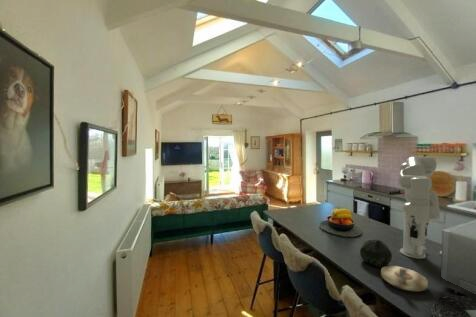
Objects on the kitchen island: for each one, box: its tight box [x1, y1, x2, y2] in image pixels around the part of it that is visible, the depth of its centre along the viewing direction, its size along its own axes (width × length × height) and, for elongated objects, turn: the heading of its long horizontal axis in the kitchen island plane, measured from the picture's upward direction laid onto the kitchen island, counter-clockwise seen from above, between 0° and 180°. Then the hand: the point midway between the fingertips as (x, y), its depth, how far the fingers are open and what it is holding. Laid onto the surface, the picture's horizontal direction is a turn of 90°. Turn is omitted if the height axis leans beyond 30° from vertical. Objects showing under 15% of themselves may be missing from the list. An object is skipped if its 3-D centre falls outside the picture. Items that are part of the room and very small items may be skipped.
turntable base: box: [387, 282, 421, 293], centre depth 109 cm, size 14×14×2 cm
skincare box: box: [412, 222, 427, 246], centre depth 116 cm, size 6×4×12 cm
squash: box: [359, 239, 393, 268], centre depth 127 cm, size 14×15×15 cm
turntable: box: [380, 265, 429, 292], centre depth 109 cm, size 18×18×8 cm
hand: (418, 236), depth 116 cm, fingers closed on skincare box, 6 cm apart
